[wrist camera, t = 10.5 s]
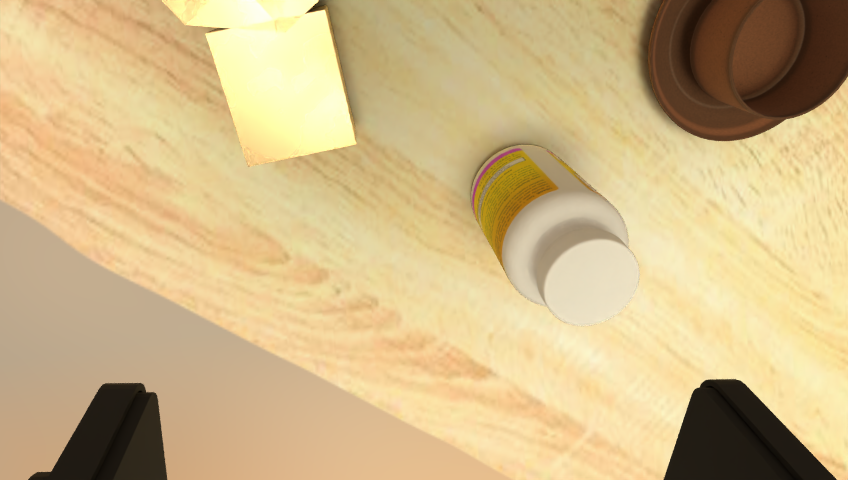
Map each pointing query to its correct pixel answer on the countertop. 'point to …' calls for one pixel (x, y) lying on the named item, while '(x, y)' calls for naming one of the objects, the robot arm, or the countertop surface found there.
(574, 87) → the countertop surface
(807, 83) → the cup and saucer
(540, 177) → the supplement bottle
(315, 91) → the octagonal two-tone ring
